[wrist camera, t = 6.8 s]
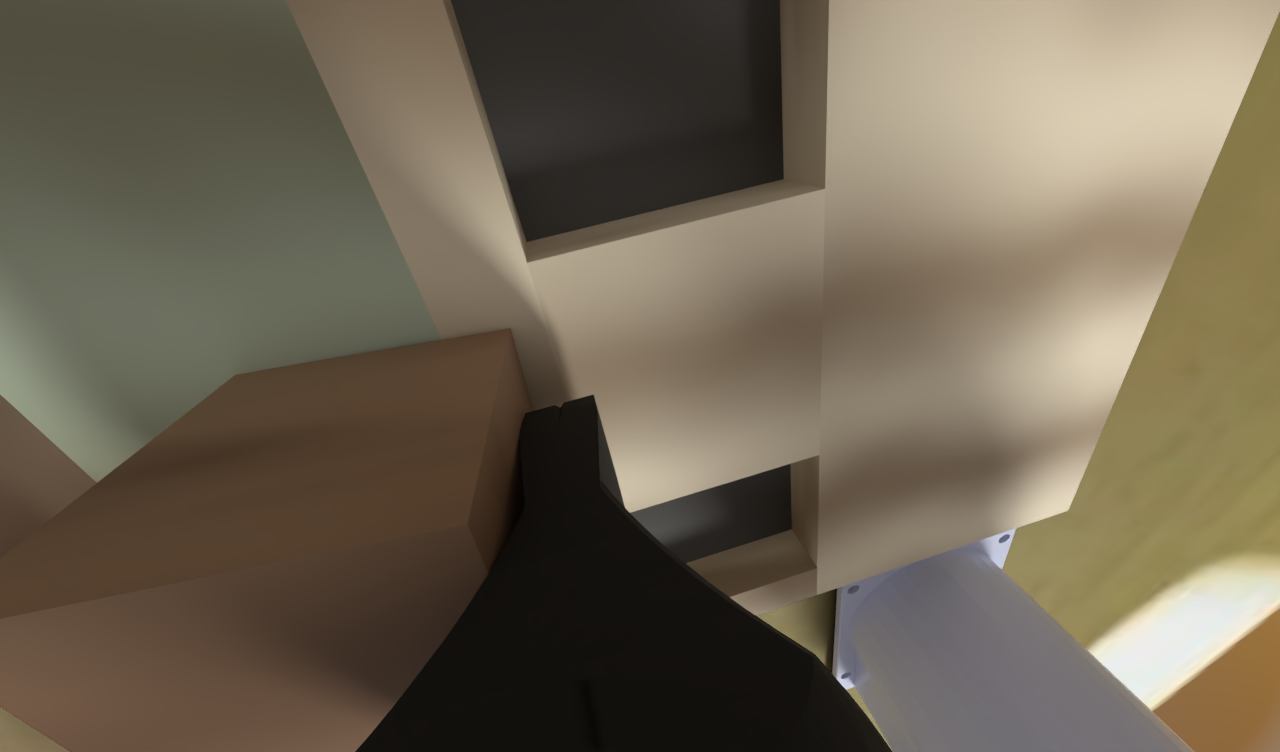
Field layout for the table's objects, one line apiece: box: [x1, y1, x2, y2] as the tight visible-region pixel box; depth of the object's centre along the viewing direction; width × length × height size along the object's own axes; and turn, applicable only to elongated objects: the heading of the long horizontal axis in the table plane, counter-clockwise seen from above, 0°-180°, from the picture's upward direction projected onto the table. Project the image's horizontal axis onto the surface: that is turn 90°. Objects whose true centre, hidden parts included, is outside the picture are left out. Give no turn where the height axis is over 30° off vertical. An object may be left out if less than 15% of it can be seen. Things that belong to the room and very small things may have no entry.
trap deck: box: [0, 0, 1280, 616], centre depth 11 cm, size 20×26×4 cm
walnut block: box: [0, 328, 533, 752], centre depth 8 cm, size 5×5×5 cm
